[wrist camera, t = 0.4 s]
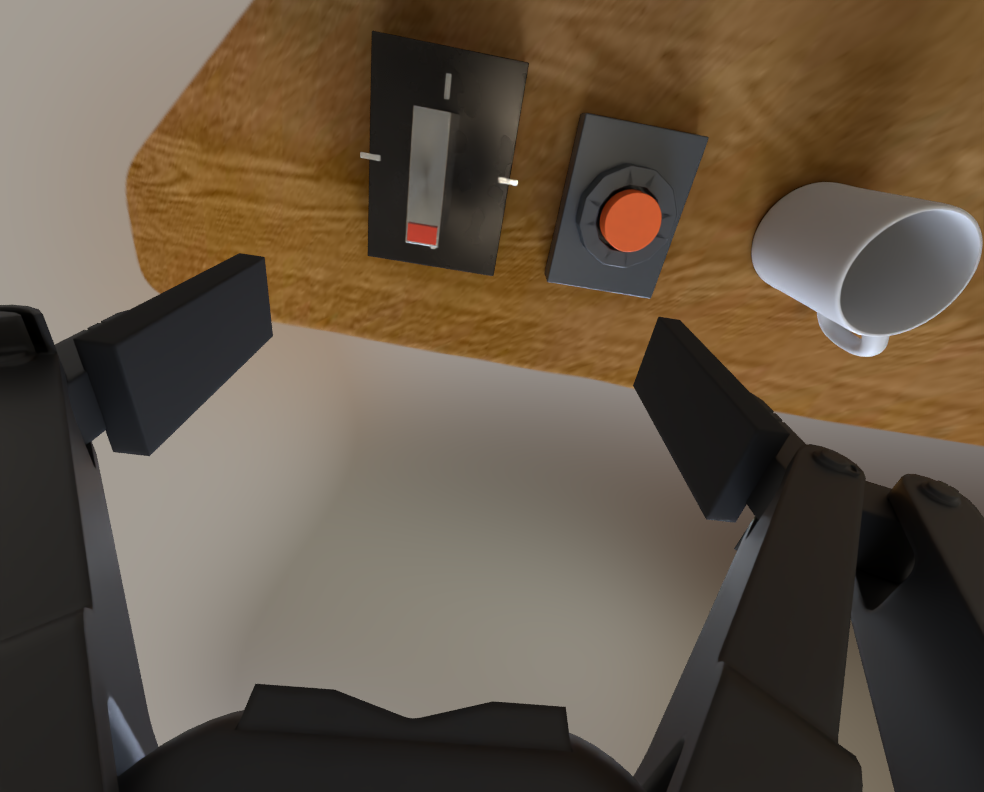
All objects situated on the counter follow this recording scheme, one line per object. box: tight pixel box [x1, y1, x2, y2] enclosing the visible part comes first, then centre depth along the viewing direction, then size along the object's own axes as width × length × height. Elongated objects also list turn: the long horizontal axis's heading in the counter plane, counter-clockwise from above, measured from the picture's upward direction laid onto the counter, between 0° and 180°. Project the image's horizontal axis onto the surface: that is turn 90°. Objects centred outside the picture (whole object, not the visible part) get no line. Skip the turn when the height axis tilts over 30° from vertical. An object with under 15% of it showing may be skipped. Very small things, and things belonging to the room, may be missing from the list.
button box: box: [545, 113, 708, 298], centre depth 34 cm, size 12×9×4 cm
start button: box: [600, 189, 662, 252], centre depth 32 cm, size 4×4×2 cm
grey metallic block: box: [405, 105, 460, 248], centre depth 28 cm, size 7×2×8 cm, turn 171°
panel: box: [360, 31, 529, 276], centre depth 33 cm, size 14×11×3 cm
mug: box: [752, 182, 982, 357], centre depth 33 cm, size 12×8×11 cm
